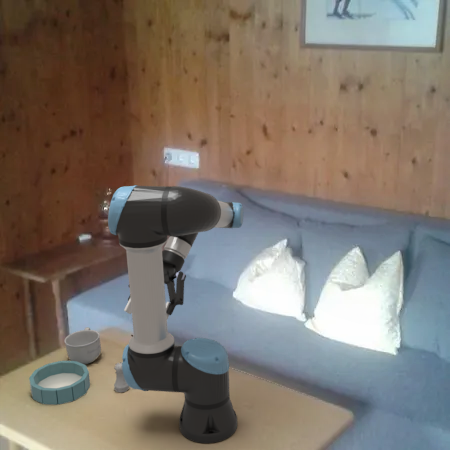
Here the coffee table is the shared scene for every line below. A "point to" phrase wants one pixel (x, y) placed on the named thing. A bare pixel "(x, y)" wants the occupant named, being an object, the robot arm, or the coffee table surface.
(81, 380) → the dish
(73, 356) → the teacup
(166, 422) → the coffee table surface
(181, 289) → the robot arm
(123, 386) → the rook chess piece
